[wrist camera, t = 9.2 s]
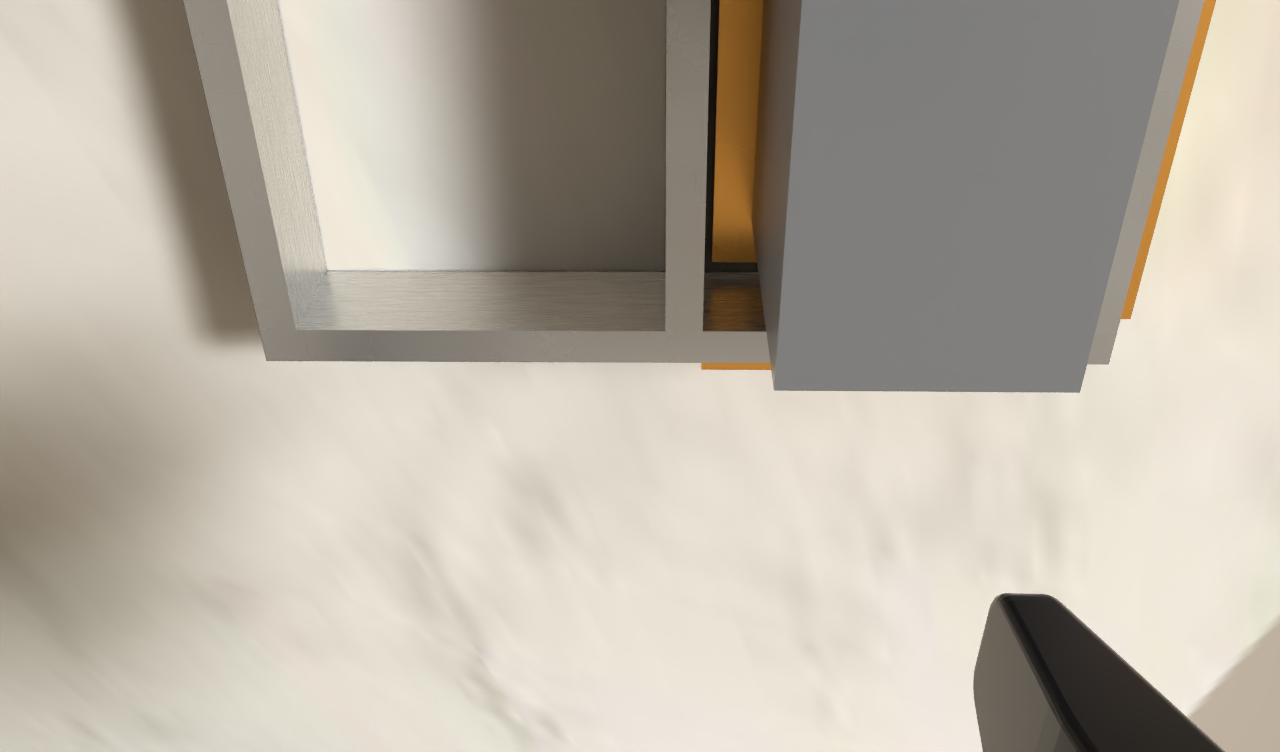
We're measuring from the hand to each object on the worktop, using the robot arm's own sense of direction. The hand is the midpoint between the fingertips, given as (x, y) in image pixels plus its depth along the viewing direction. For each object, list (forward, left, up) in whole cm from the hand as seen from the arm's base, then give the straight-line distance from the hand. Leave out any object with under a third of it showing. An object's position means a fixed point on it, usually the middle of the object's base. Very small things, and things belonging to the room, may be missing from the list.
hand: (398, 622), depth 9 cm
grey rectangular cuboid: (+2, -5, -11) cm, 13 cm away
